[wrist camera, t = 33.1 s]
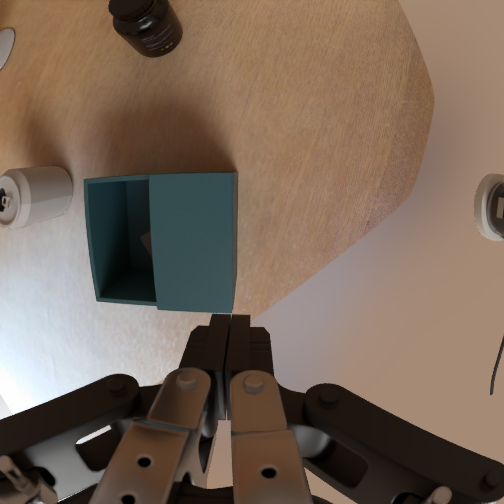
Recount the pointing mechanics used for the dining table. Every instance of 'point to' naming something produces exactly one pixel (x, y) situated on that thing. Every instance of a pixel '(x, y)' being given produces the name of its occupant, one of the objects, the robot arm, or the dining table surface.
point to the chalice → (6, 44)
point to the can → (33, 195)
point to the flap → (192, 241)
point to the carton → (129, 238)
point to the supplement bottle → (147, 25)
